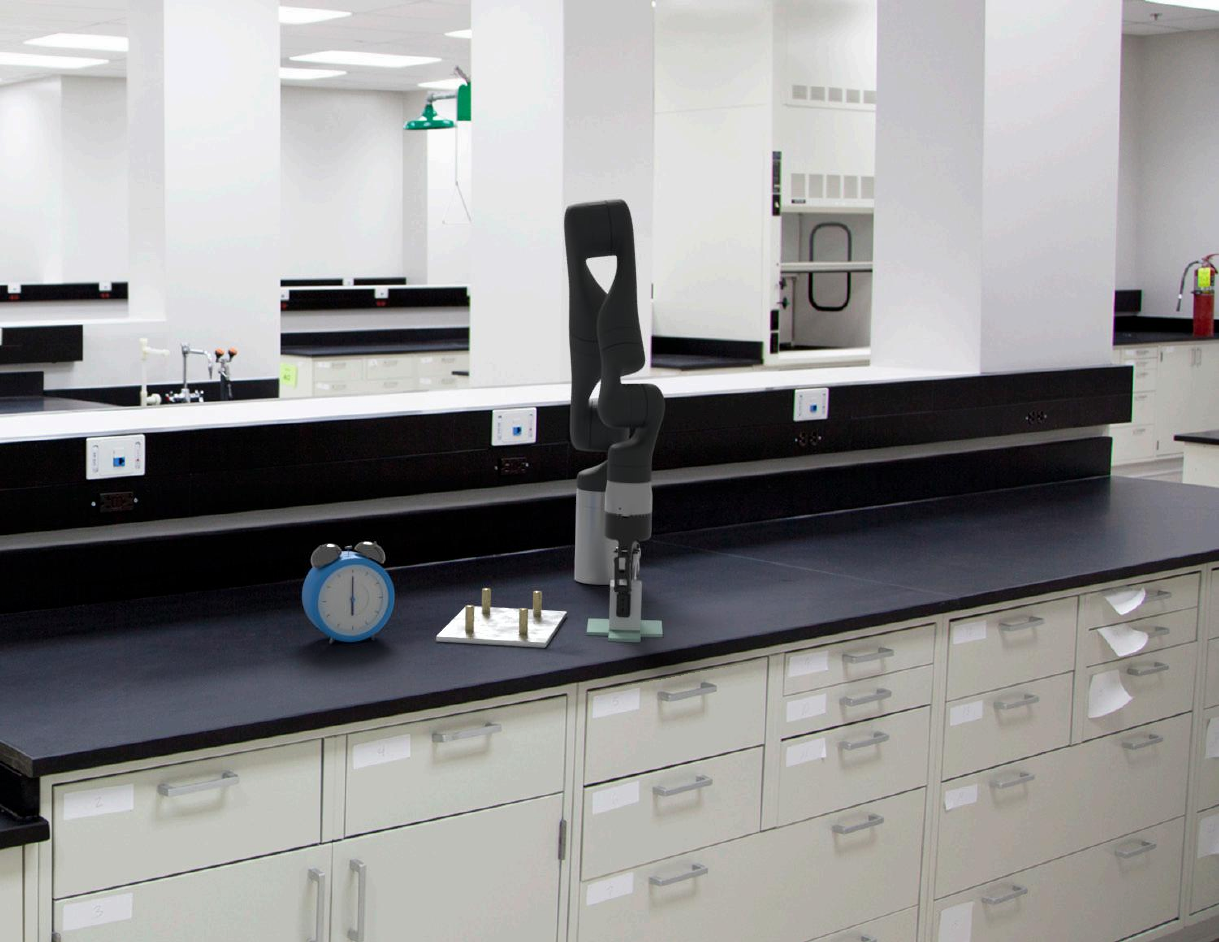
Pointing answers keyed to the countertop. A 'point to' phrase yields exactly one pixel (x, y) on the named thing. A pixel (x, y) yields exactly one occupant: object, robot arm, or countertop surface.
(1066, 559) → the countertop surface
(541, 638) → the chassis plate
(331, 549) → the alarm clock
